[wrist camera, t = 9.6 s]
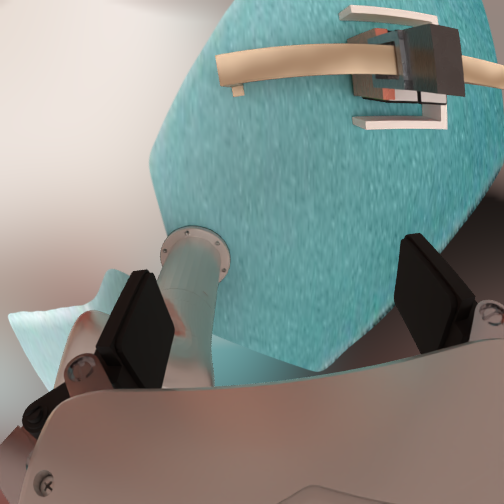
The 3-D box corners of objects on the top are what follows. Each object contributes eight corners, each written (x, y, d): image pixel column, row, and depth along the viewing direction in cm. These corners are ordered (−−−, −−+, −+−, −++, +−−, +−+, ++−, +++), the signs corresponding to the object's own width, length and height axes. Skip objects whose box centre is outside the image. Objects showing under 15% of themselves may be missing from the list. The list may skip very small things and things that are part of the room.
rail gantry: (438, 89, 39) (515, 103, 23) (233, 96, 41) (223, 101, 25) (435, 56, 36) (511, 57, 20) (227, 59, 38) (212, 40, 22)
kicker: (371, 95, 40) (469, 114, 19) (346, 95, 40) (433, 111, 19) (364, 39, 35) (459, 14, 14) (339, 39, 35) (421, 5, 15)
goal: (428, 122, 42) (447, 129, 37) (352, 124, 43) (366, 129, 38) (418, 20, 33) (436, 16, 28) (338, 13, 34) (350, 5, 29)
